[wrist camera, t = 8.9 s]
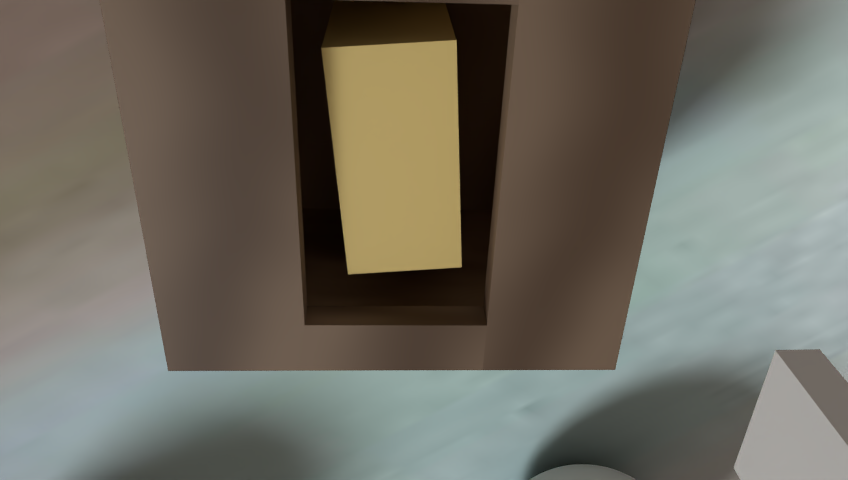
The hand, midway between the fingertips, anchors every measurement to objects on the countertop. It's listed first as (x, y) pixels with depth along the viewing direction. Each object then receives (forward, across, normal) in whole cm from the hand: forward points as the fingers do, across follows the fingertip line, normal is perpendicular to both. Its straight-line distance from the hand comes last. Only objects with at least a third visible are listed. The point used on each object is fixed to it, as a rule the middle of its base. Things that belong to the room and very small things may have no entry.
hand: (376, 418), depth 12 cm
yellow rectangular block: (+18, +1, 0) cm, 18 cm away
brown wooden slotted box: (+19, +1, 0) cm, 19 cm away
